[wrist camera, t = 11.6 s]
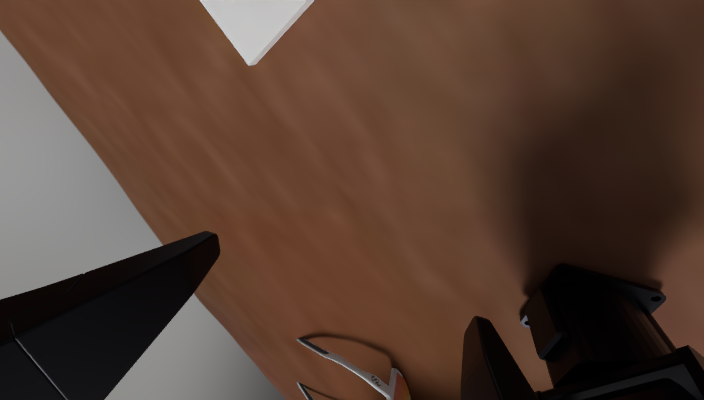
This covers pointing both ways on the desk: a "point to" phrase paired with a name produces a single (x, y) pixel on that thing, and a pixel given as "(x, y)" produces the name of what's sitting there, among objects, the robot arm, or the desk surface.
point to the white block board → (255, 22)
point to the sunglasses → (363, 376)
